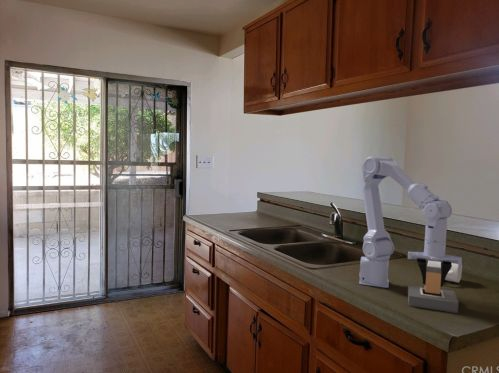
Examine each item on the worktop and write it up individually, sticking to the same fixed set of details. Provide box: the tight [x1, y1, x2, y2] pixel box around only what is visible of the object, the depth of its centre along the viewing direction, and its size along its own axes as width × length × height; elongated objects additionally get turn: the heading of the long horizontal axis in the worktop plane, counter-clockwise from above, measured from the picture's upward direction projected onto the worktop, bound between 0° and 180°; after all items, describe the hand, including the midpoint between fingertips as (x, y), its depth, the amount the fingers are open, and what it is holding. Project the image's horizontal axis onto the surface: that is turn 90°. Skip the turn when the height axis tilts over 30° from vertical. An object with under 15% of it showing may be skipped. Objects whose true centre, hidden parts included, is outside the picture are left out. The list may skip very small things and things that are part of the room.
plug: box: [423, 265, 441, 294], centre depth 116 cm, size 4×4×7 cm
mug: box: [426, 261, 463, 284], centre depth 138 cm, size 12×10×8 cm
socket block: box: [407, 284, 459, 314], centre depth 116 cm, size 13×11×3 cm
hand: (432, 284), depth 116 cm, fingers closed on plug, 4 cm apart
